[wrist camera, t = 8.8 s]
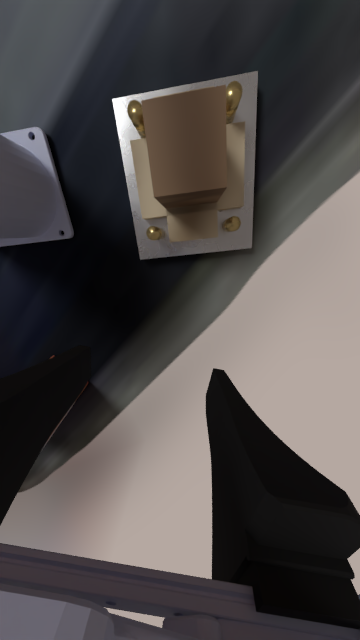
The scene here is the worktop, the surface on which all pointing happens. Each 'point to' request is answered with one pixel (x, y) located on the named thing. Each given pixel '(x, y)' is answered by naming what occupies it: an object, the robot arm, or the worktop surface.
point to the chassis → (231, 222)
